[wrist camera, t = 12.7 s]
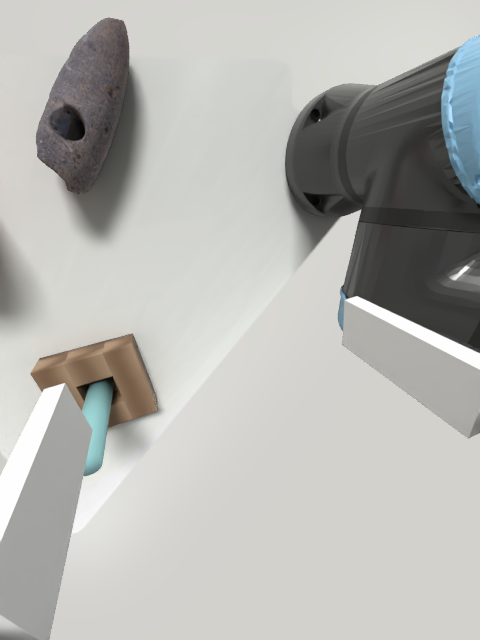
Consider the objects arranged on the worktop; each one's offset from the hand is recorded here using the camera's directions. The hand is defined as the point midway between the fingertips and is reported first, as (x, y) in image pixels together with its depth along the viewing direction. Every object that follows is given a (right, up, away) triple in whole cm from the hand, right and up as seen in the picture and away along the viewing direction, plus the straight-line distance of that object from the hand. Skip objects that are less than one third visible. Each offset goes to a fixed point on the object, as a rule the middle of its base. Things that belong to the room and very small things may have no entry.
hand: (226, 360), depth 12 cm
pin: (-20, -7, +26) cm, 34 cm away
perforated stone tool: (-14, +23, +15) cm, 31 cm away
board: (-20, -7, +27) cm, 34 cm away
